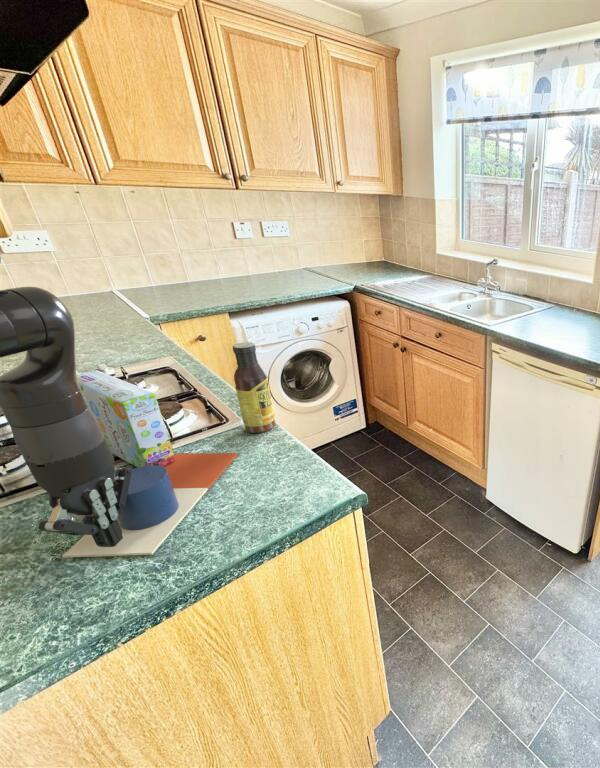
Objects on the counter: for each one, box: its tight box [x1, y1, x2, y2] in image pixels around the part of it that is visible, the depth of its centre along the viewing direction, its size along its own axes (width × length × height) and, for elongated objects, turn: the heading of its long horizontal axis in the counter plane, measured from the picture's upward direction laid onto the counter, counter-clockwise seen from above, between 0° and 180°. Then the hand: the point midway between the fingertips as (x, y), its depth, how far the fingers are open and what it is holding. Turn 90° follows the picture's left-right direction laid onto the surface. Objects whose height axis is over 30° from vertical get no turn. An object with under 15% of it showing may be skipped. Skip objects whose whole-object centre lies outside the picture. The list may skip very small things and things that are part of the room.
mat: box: [61, 452, 238, 559], centre depth 73 cm, size 12×26×1 cm, turn 6°
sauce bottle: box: [232, 341, 276, 434], centre depth 92 cm, size 6×6×20 cm
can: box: [114, 465, 179, 530], centre depth 68 cm, size 8×8×7 cm
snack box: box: [76, 369, 176, 468], centre depth 81 cm, size 21×6×15 cm, turn 64°
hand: (112, 543), depth 62 cm, fingers closed
